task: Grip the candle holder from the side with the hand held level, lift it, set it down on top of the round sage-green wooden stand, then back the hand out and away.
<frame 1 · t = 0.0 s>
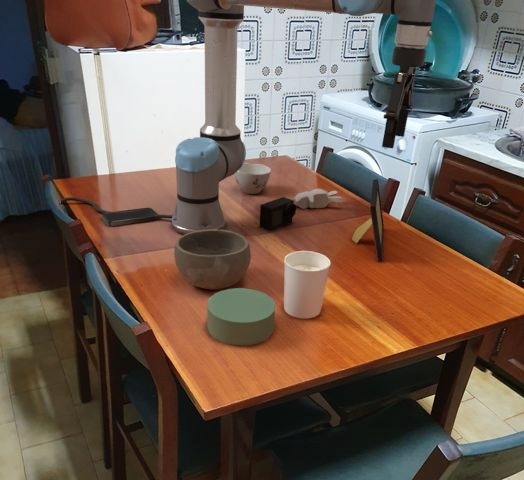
hand: (393, 141, 139), 28 cm above the table, tool pointing down, fingers open, 13 cm apart
teacup: (250, 190, 187), on the table
bowl: (212, 280, 132), on the table
candle holder: (302, 310, 122), on the table
phone: (130, 218, 161), on the table
bunny figurine: (316, 206, 178), on the table
picture frame: (366, 243, 155), on the table
digital camera: (277, 226, 162), on the table
stand: (240, 327, 115), on the table
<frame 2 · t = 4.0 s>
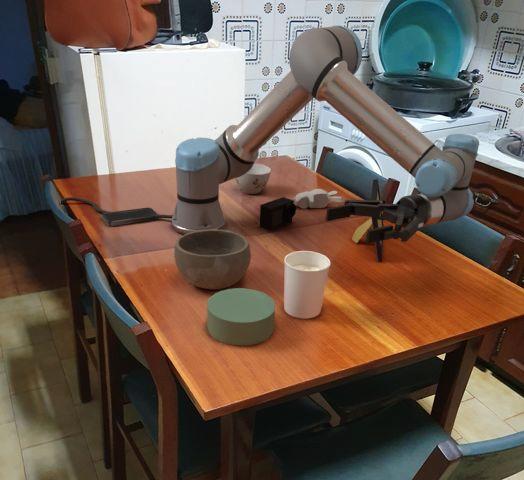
hand: (346, 225, 116), 18 cm above the table, tool horizontal, fingers open, 13 cm apart
nothing on the table moved.
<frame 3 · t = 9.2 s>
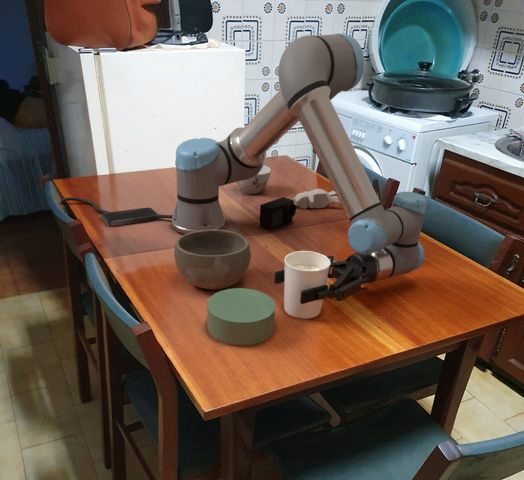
hand: (288, 287, 117), 7 cm above the table, tool horizontal, fingers closed on candle holder, 9 cm apart
candle holder: (302, 310, 122), on the table, touching gripper
everything else where it was.
when the fingers open (12 cm above the table, at t = 16.9 s): candle holder stays where it is, resting on stand.
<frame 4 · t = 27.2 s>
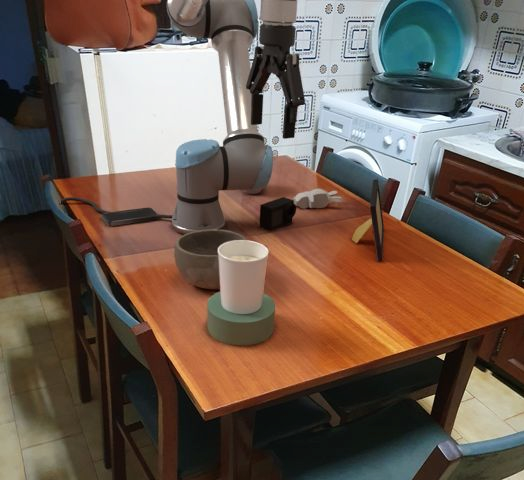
hand: (271, 131, 126), 32 cm above the table, tool pointing down, fingers open, 13 cm apart
candle holder: (241, 305, 112), point 5 cm above the table, touching stand
everything else where it was.
at the end: candle holder inside the target area on the stand (0.0 cm from its centre), point 5.3 cm above the stand's base; candle holder tilted 0°; the gripper is holding nothing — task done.
